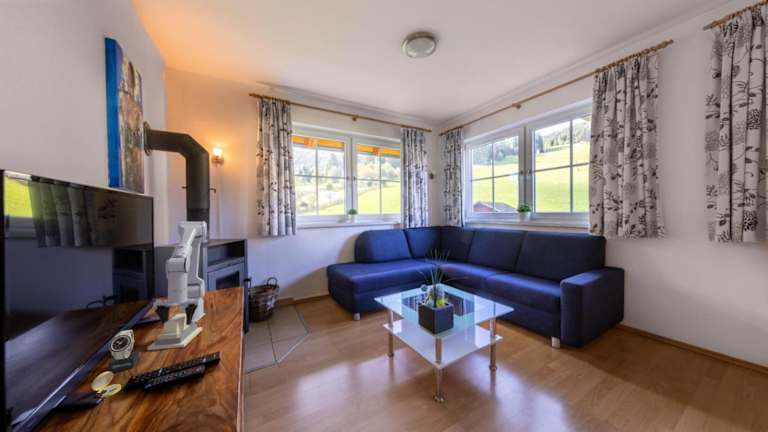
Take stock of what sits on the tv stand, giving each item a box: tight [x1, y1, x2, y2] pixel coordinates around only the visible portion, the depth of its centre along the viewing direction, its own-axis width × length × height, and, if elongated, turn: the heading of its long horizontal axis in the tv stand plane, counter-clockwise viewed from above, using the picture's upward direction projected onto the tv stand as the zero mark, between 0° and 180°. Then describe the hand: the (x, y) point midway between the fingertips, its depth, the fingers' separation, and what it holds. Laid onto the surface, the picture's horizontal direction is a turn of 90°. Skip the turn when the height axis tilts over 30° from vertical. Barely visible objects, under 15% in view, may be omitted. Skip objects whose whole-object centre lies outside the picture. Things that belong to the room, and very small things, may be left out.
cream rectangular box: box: [163, 313, 189, 335], centre depth 97 cm, size 9×4×5 cm, turn 13°
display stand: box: [147, 320, 203, 351], centre depth 97 cm, size 14×11×4 cm
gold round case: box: [91, 371, 122, 398], centre depth 69 cm, size 4×5×5 cm
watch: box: [107, 329, 140, 374], centre depth 79 cm, size 6×8×11 cm
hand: (177, 324), depth 97 cm, fingers open, 7 cm apart
